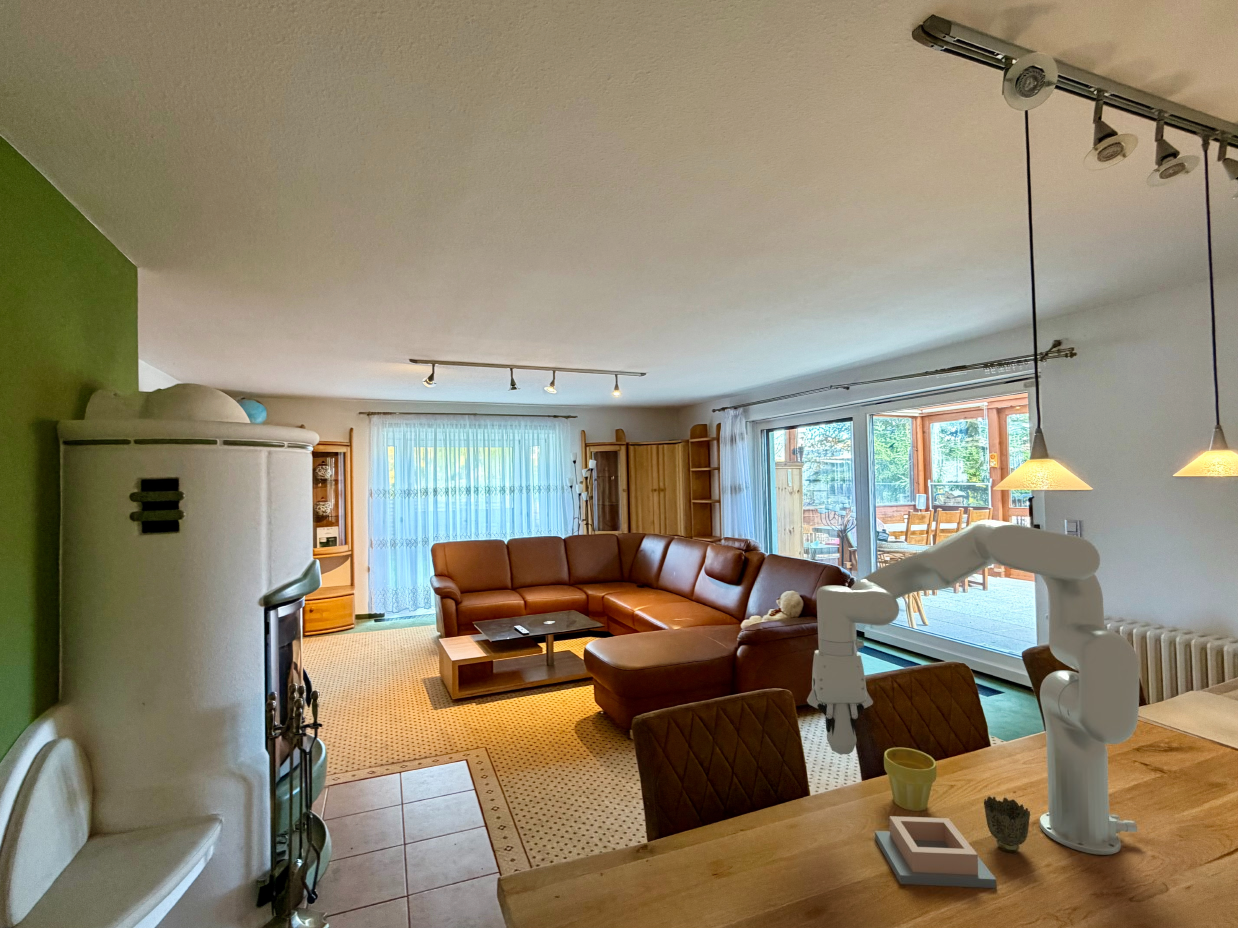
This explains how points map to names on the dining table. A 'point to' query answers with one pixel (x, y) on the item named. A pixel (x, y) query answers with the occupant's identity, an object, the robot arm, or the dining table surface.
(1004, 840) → the cup
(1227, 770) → the dining table surface
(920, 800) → the plant pot
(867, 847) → the dining table surface
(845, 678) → the robot arm
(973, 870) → the socket base
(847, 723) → the salt shaker
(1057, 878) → the dining table surface
